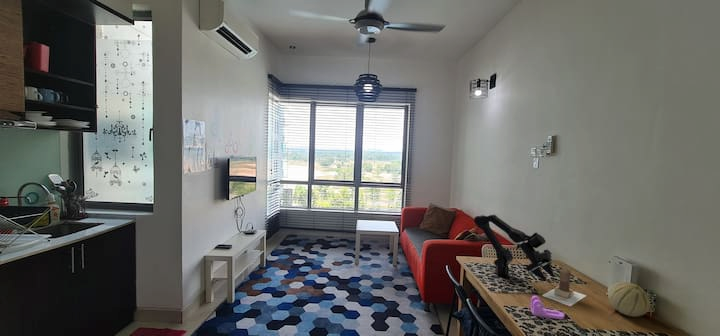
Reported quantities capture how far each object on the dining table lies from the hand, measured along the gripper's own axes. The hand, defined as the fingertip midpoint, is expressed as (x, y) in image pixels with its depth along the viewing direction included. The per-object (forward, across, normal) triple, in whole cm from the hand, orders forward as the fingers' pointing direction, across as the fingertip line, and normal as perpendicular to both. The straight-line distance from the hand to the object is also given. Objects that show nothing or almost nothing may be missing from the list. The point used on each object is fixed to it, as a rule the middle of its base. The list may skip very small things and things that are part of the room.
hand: (550, 278), depth 165 cm
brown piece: (+9, 0, 0) cm, 9 cm away
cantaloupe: (+27, +7, -17) cm, 33 cm away
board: (+10, 0, 0) cm, 10 cm away
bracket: (+13, -25, -2) cm, 28 cm away
